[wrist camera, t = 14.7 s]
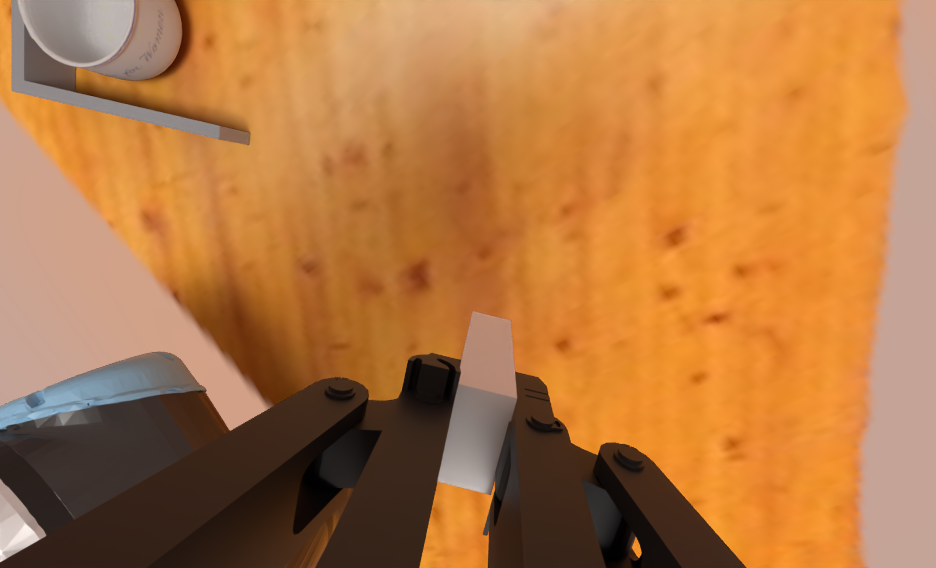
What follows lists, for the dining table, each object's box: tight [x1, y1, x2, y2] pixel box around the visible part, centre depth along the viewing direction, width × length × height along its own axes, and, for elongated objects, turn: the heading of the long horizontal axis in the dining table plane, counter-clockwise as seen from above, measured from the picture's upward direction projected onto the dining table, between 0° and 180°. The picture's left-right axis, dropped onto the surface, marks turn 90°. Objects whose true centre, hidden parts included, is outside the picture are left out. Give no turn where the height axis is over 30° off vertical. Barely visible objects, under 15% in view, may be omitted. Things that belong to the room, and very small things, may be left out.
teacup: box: [17, 0, 182, 81], centre depth 40 cm, size 14×11×8 cm
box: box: [11, 0, 250, 145], centre depth 41 cm, size 18×20×5 cm
